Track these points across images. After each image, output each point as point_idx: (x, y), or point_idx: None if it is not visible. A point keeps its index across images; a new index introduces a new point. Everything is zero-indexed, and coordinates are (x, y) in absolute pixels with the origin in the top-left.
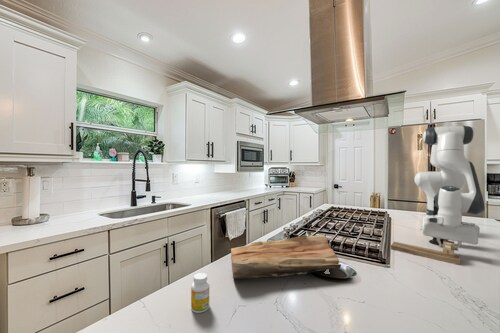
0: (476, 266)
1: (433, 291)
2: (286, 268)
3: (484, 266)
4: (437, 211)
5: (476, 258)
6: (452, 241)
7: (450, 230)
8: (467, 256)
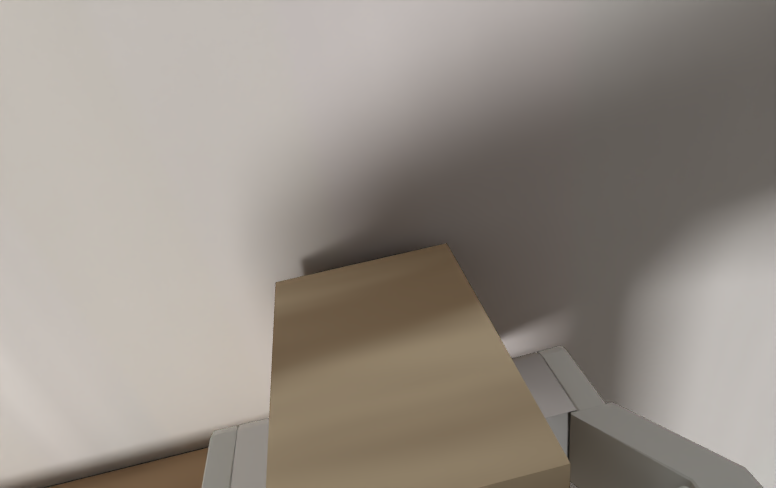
0: (681, 426)
1: None
2: None
3: (764, 356)
4: None
5: (760, 75)
6: (518, 480)
7: None
8: (635, 93)
